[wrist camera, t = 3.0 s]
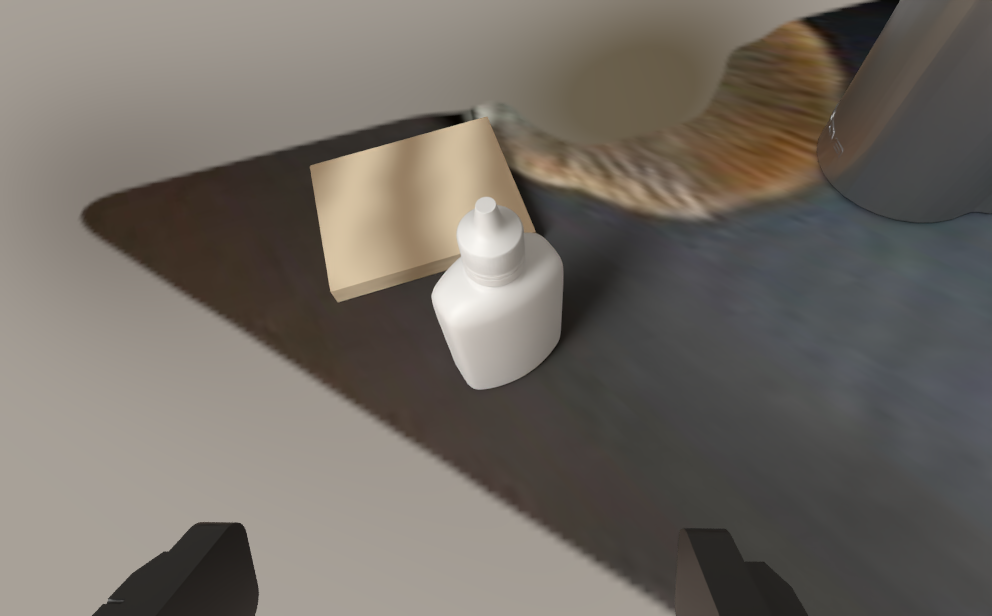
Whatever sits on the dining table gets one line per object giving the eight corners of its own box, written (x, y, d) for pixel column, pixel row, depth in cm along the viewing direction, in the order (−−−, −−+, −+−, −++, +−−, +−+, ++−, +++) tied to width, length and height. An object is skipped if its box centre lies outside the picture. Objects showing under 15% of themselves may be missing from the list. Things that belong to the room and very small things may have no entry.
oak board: (488, 130, 36) (487, 116, 35) (535, 243, 31) (535, 231, 30) (316, 178, 35) (309, 165, 34) (338, 302, 30) (330, 291, 29)
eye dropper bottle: (455, 318, 29) (404, 163, 19) (557, 310, 29) (563, 148, 18) (456, 393, 27) (399, 267, 17) (565, 386, 27) (578, 252, 16)
